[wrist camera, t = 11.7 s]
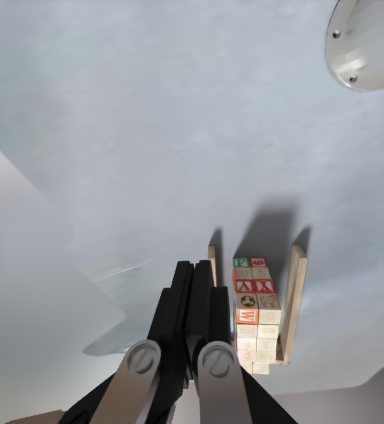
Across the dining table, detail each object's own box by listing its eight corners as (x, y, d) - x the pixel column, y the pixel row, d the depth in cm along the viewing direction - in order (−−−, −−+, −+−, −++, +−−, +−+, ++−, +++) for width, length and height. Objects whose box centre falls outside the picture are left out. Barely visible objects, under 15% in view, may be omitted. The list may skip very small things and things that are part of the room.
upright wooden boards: (299, 244, 38) (307, 258, 35) (284, 346, 51) (289, 364, 47) (208, 245, 41) (207, 258, 37) (215, 342, 53) (215, 359, 49)
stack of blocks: (260, 330, 50) (272, 393, 39) (233, 329, 50) (237, 390, 39) (265, 256, 41) (282, 311, 30) (231, 256, 41) (236, 309, 30)
